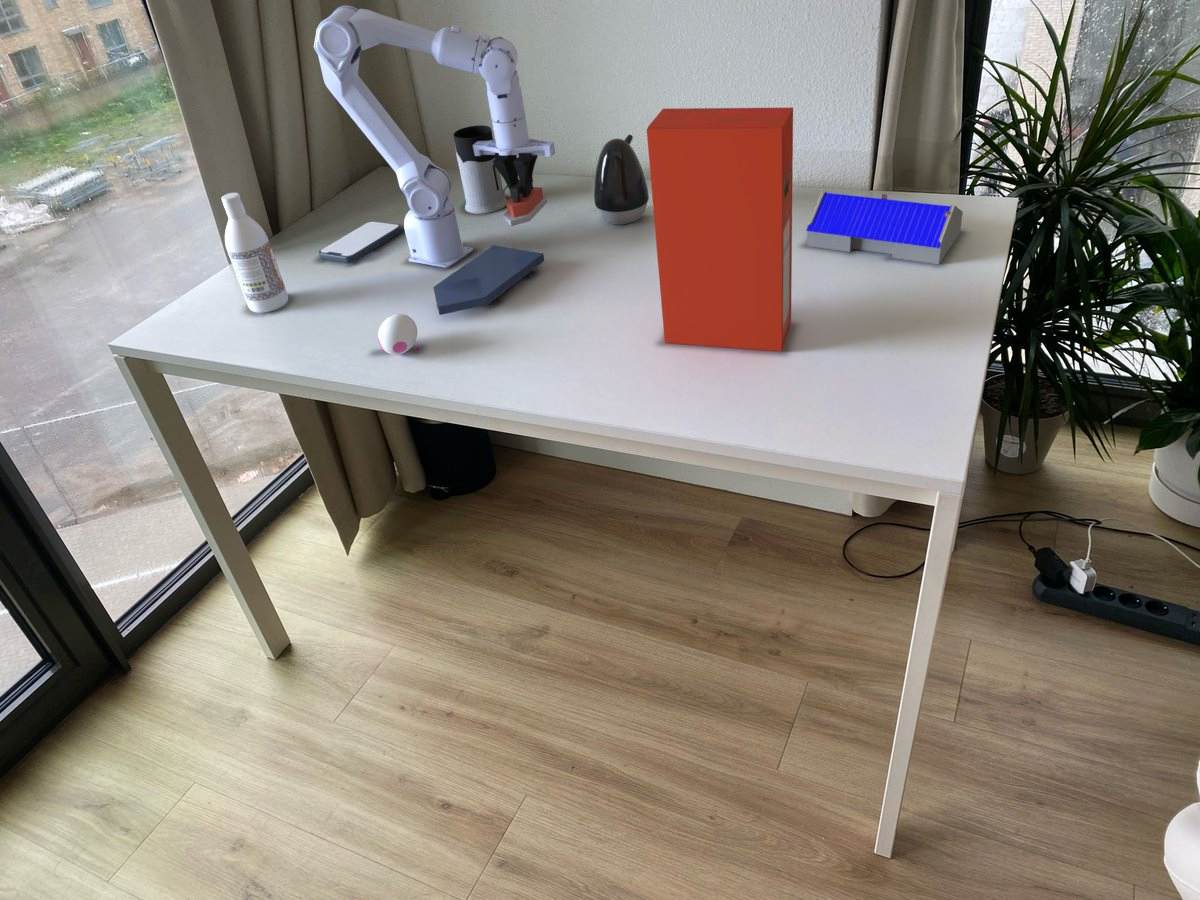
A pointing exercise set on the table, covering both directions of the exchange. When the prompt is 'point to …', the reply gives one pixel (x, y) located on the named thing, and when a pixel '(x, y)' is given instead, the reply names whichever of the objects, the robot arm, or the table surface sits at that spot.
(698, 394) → the table surface
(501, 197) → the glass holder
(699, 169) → the file binder
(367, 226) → the smartphone with white screen
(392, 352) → the stress ball
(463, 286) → the ironing board
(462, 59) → the robot arm
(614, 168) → the black egg-shaped figure
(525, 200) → the iron
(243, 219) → the bath foam
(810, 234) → the blue roofed model house
